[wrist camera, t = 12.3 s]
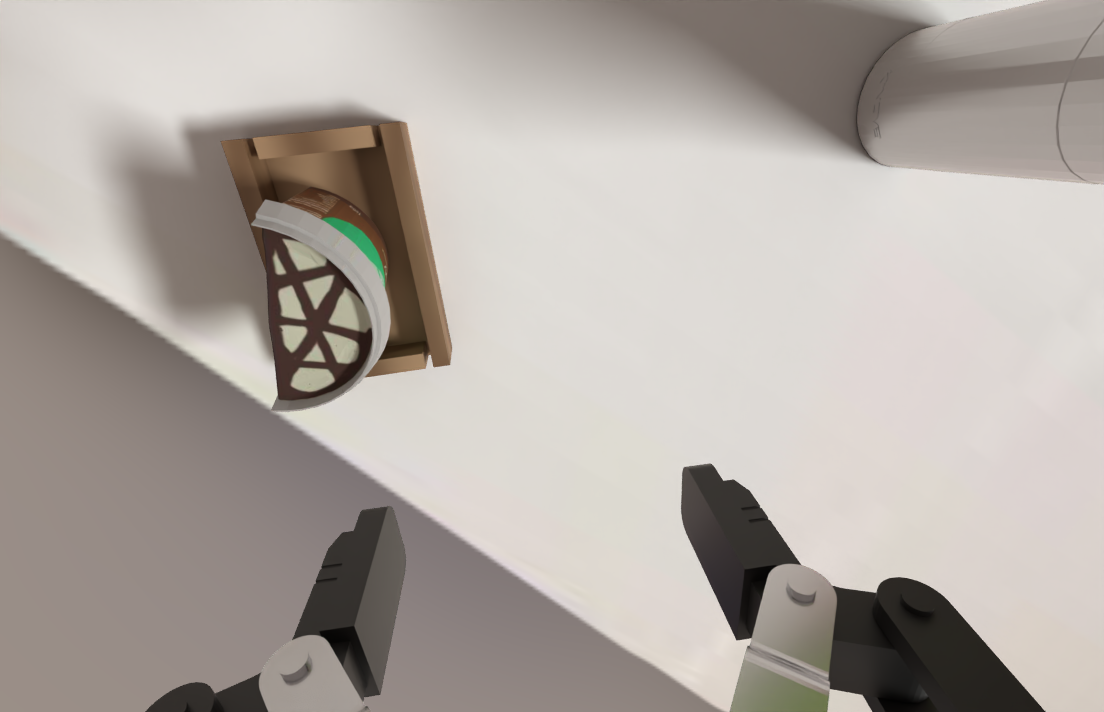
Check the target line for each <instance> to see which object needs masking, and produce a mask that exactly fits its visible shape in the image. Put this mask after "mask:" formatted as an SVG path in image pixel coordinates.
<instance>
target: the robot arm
mask: <svg viewBox="0 0 1104 712" xmlns="http://www.w3.org/2000/svg"><path fill="white" fill-rule="evenodd" d="M857 125H858V132H859V137H860V139H861V142H862V145H863V147H864V148H865V150H866V151H867V153H868V154H869V155H870V156H871V157H872V158H873V159H874V160H876V161H877V162H878V163H881V164H883V165H886V166H889V167H898V168H909V169H920V170H932V171H941V172H953V173H966V174H978V175H990V176H1002V177H1015V178H1027V179H1039V180H1051V181H1063V182H1076V183H1088V184H1104V0H1045V1H1041V2H1036V3H1032V4H1028V5H1024V6H1019V7H1015V8H1011V9H1006V10H1002V11H998V12H993V13H989V14H985V15H981V16H976V17H971V18H967V19H962V20H958V21H954V22H950V23H945V24H941V25H937V26H933V27H929V28H924V29H921V30H918V31H915V32H912V33H910V34H908V35H907V36H905V37H903V38H902V39H900V40H898V41H897V42H896V43H895V44H894V45H892V46H891V47H890V48H889V49H888V50H887V51H886V52H885V53H884V54H883V55H882V57H881V58H880V59H879V60H878V61H877V63H876V64H875V66H874V67H873V69H872V71H871V72H870V74H869V76H868V77H867V80H866V82H865V85H864V87H863V90H862V92H861V96H860V100H859V105H858V114H857ZM681 514H682V520H683V525H684V528H685V531H686V533H687V536H688V538H689V540H690V542H691V544H692V546H693V548H694V550H695V553H696V555H697V557H698V559H699V561H700V563H701V565H702V568H703V570H704V572H705V574H706V576H707V578H708V580H709V583H710V585H711V587H712V589H713V591H714V593H715V595H716V597H717V600H718V602H719V604H720V606H721V608H722V610H723V612H724V615H725V617H726V619H727V621H728V623H729V625H730V627H731V629H732V632H733V634H734V636H735V638H736V640H742V639H749V638H752V639H751V643H750V646H748V647H747V649H746V652H745V656H744V660H743V663H742V667H741V671H740V675H739V678H738V682H737V686H736V690H735V694H734V697H733V701H732V705H731V709H730V712H827V710H828V701H829V691H830V689H833V690H839V691H844V692H850V693H855V694H861V695H863V696H864V698H865V700H866V702H867V703H868V705H869V707H870V708H871V710H872V712H1045V711H1044V710H1043V708H1042V707H1041V706H1040V705H1039V704H1038V703H1037V702H1036V700H1035V699H1034V698H1033V697H1032V696H1031V695H1030V694H1029V692H1028V691H1027V690H1026V689H1025V688H1024V687H1023V686H1022V684H1021V683H1020V682H1019V681H1018V680H1017V679H1016V678H1015V676H1014V675H1013V674H1012V673H1011V672H1010V671H1009V670H1008V668H1007V667H1006V666H1005V665H1004V664H1003V663H1002V662H1001V661H1000V659H999V658H998V657H997V656H996V655H995V654H994V653H993V651H992V650H991V649H990V648H989V647H988V646H987V645H986V643H985V642H984V641H983V640H982V639H981V638H980V637H979V635H978V634H977V633H976V632H975V631H974V630H973V629H972V627H971V626H970V625H969V624H968V623H967V622H966V621H965V619H964V618H963V617H962V616H961V615H960V614H959V613H958V611H957V610H956V609H955V608H954V607H953V606H952V605H951V603H950V602H949V601H948V600H947V599H946V598H945V597H944V596H943V595H941V594H940V593H939V592H937V591H936V590H934V589H933V588H931V587H929V586H928V585H926V584H923V583H921V582H919V581H916V580H912V579H908V578H901V577H896V578H889V579H886V580H884V581H883V582H881V584H880V585H879V586H878V589H877V593H873V592H865V591H858V590H850V589H844V588H839V587H835V586H832V585H831V584H830V582H829V581H828V580H827V579H826V578H825V577H823V576H822V575H821V574H819V573H818V572H816V571H814V570H813V569H811V568H808V567H805V566H802V565H801V564H800V563H799V561H798V560H797V558H796V557H795V555H794V554H793V553H792V551H791V550H790V548H789V547H788V545H787V544H786V542H785V541H784V540H783V538H782V537H781V535H780V534H779V532H778V531H777V530H776V528H775V527H774V525H773V524H772V522H771V521H770V520H768V517H767V515H766V514H765V512H764V511H763V509H762V508H760V505H759V504H758V502H757V501H756V499H755V498H754V497H753V495H752V494H751V492H750V491H749V490H748V489H746V488H745V487H743V486H742V485H741V484H739V483H738V482H736V481H735V480H727V481H723V480H722V478H721V477H720V475H719V474H718V472H717V470H716V469H715V467H714V466H713V465H712V464H704V465H696V466H689V467H684V468H683V473H682V500H681ZM405 567H406V555H405V548H404V544H403V541H402V537H401V534H400V531H399V527H398V523H397V520H396V516H395V513H394V510H393V508H392V507H391V506H388V507H380V508H374V509H366V510H362V511H361V512H360V515H359V517H358V520H357V523H356V526H355V529H354V531H350V532H343V533H342V534H341V535H340V536H339V537H338V538H337V539H336V541H335V542H334V543H333V544H332V545H331V546H330V547H329V549H328V551H327V553H326V556H325V559H324V561H323V564H322V569H321V570H320V571H319V574H318V577H317V579H316V584H314V586H313V589H312V591H311V594H310V597H309V599H308V602H307V604H306V607H305V609H304V612H303V614H302V617H301V619H300V622H299V624H298V627H297V630H296V632H295V635H294V637H293V639H292V641H290V642H288V643H287V644H285V645H284V646H282V647H281V648H280V649H278V651H276V652H275V653H274V654H273V655H272V656H271V658H270V659H269V660H268V661H267V663H266V664H265V666H264V668H263V670H262V672H261V673H259V674H258V675H256V676H254V677H252V678H250V679H247V680H245V681H243V682H240V683H238V684H236V685H234V686H231V687H229V688H227V689H225V690H222V691H220V692H218V693H214V692H213V690H212V689H211V687H210V686H208V685H207V684H205V683H198V682H195V683H189V684H186V685H183V686H180V687H178V688H176V689H174V690H172V691H170V692H169V693H167V694H165V695H164V696H162V697H161V698H160V699H158V700H157V701H156V702H155V703H154V704H153V705H151V706H150V707H149V708H148V710H147V711H146V712H371V710H370V709H369V708H368V707H367V706H366V707H365V705H364V704H363V701H364V697H369V696H375V695H380V693H381V688H382V684H383V679H384V674H385V669H386V663H387V659H388V653H389V649H390V644H391V639H392V634H393V629H394V624H395V619H396V614H397V610H398V605H399V599H400V595H401V590H402V585H403V580H404V575H405Z"/></svg>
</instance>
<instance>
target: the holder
mask: <svg viewBox="0 0 1104 712" xmlns="http://www.w3.org/2000/svg"><path fill="white" fill-rule="evenodd" d="M221 143H222V146H223V149H224V152H225V155H226V158H227V161H228V164H229V166H230V169H231V172H232V175H233V178H234V181H235V184H236V186H237V189H238V192H239V195H240V198H241V201H242V204H243V207H244V209H245V212H246V215H247V218H248V221H249V224H250V227H251V229H252V232H253V235H254V238H255V241H256V244H257V247H258V250H259V252H260V255H261V258H262V261H263V264H264V267H265V270H266V261H265V250H264V243H263V240H262V228H261V227H257V226H252V225H251V223H252V222H253V221H254V220H255V219H256V213H257V211H258V210H259V208H260V207H261V205H262V204H263V202H264V201H265V199H266V200H270V201H274V202H279V203H284V202H285V201H287V200H289V199H290V198H292V197H294V196H295V195H297V194H299V193H300V192H302V191H304V190H306V189H307V188H309V187H315V188H319V189H324V190H327V191H329V192H332V193H335V194H337V195H339V196H341V197H343V198H345V199H346V200H348V201H350V202H351V203H353V204H354V205H355V206H357V207H358V208H360V209H361V210H362V211H363V212H364V213H365V214H366V215H367V216H368V217H369V218H370V219H371V220H372V222H373V223H374V224H375V225H376V227H377V228H378V230H379V232H380V233H381V235H382V237H383V240H384V242H385V245H386V248H387V252H388V260H389V267H388V275H387V281H386V287H385V291H386V294H387V298H388V302H389V307H390V320H391V324H390V331H389V337H388V340H387V343H386V346H385V349H384V351H383V352H382V354H381V356H380V358H379V359H378V361H377V362H376V364H375V365H374V366H373V368H372V369H371V370H370V371H369V373H368V374H367V375H366V376H365V377H372V376H378V375H385V374H392V373H399V372H405V371H412V370H419V369H426V364H427V360H428V355H431V358H432V362H433V367H439V366H446V365H450V360H451V352H452V345H451V340H450V335H449V330H448V325H447V320H446V315H445V310H444V305H443V300H442V295H441V290H440V285H439V281H438V276H437V271H436V266H435V261H434V256H433V251H432V246H431V241H430V236H429V231H428V226H427V221H426V216H425V211H424V206H423V201H422V197H421V192H420V187H419V182H418V177H417V172H416V167H415V162H414V157H413V152H412V147H411V142H410V137H409V132H408V127H407V123H403V122H394V123H385V124H379V126H373V125H366V126H357V127H348V128H338V129H329V130H320V131H311V132H301V133H292V134H283V135H274V136H264V137H255V138H253V139H237V140H227V141H221ZM365 377H364V378H365Z"/></svg>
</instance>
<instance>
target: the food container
mask: <svg viewBox="0 0 1104 712" xmlns="http://www.w3.org/2000/svg"><path fill="white" fill-rule="evenodd" d="M251 225H252V226H257V227H261V228H262V240H263V243H264V250H265V261H266V273H267V289H268V314H269V328H270V334H271V340H272V345H273V353H274V360H275V370H276V380H277V390H278V396H277V398H276V400H275V403H274V405H273V407H272V409H271V412H290V411H300V410H306V409H310V408H315V407H318V406H321V405H324V404H326V403H329V402H331V401H333V400H335V399H337V398H338V397H340V396H342V395H344V394H345V393H347V392H348V391H350V390H351V389H352V388H354V387H355V386H356V385H357V384H359V383H360V382H361V381H362V379H363V378H364V377H365V376H366V375H367V374H368V373H369V371H370V370H371V369H372V368H373V366H374V365H375V364H376V362H377V361H378V359H379V358H380V356H381V354H382V352H383V351H384V349H385V346H386V343H387V340H388V337H389V331H390V324H391V320H390V307H389V302H388V298H387V294H386V291H385V287H386V281H387V275H388V267H389V260H388V252H387V248H386V245H385V242H384V240H383V237H382V235H381V233H380V232H379V230H378V228H377V227H376V225H375V224H374V223H373V222H372V220H371V219H370V218H369V217H368V216H367V215H366V214H365V213H364V212H363V211H362V210H361V209H360V208H358V207H357V206H355V205H354V204H353V203H351V202H350V201H348V200H346V199H345V198H343V197H341V196H339V195H337V194H335V193H332V192H329V191H327V190H324V189H319V188H315V187H309V188H307V189H306V190H304V191H302V192H300V193H299V194H297V195H295V196H294V197H292V198H290V199H289V200H287V201H285V202H284V203H279V202H274V201H270V200H266V199H265V201H264V202H263V204H262V205H261V207H260V208H259V210H258V211H257V213H256V219H255V220H254V221H253V222H252V223H251Z"/></svg>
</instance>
